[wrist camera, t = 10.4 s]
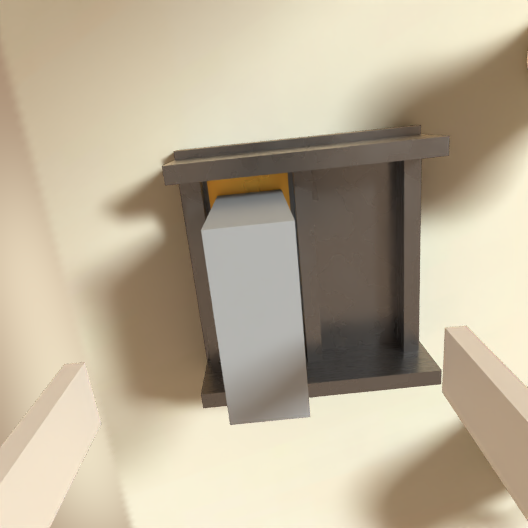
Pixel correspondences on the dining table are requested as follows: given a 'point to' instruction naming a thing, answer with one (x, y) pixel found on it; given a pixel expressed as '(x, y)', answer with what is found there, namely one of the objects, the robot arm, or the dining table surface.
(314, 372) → the rack
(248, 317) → the block
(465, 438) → the dining table surface
